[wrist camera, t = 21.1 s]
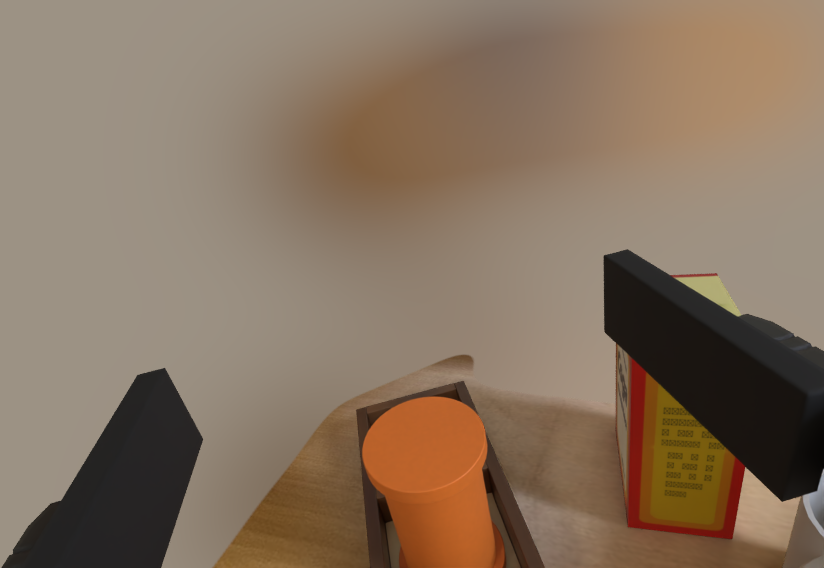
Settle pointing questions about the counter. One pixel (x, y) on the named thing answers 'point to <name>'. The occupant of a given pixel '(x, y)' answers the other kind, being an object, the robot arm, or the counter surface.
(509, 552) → the divided tray
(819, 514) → the cup
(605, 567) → the counter surface
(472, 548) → the spool
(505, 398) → the counter surface
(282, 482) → the counter surface
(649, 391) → the baking soda box
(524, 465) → the counter surface
